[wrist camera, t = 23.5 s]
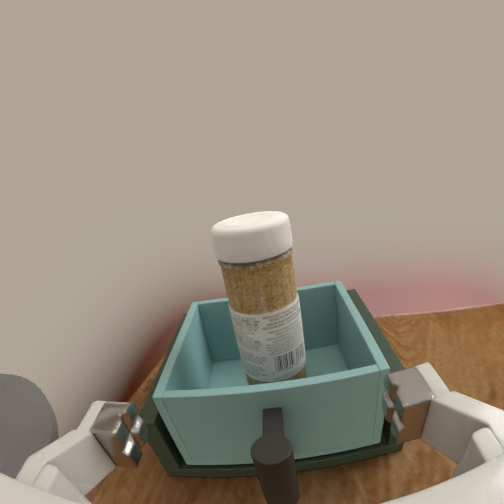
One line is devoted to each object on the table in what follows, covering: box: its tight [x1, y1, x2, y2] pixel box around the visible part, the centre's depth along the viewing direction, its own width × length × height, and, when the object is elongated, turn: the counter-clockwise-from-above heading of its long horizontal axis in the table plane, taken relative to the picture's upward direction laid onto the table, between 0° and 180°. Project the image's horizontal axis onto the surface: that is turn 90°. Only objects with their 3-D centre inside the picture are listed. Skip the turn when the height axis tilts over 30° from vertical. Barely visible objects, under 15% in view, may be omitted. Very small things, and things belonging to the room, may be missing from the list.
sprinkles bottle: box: [211, 211, 307, 385], centre depth 20 cm, size 5×5×13 cm
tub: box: [152, 281, 390, 504], centre depth 19 cm, size 13×16×7 cm
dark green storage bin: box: [139, 289, 404, 477], centre depth 23 cm, size 16×14×6 cm
